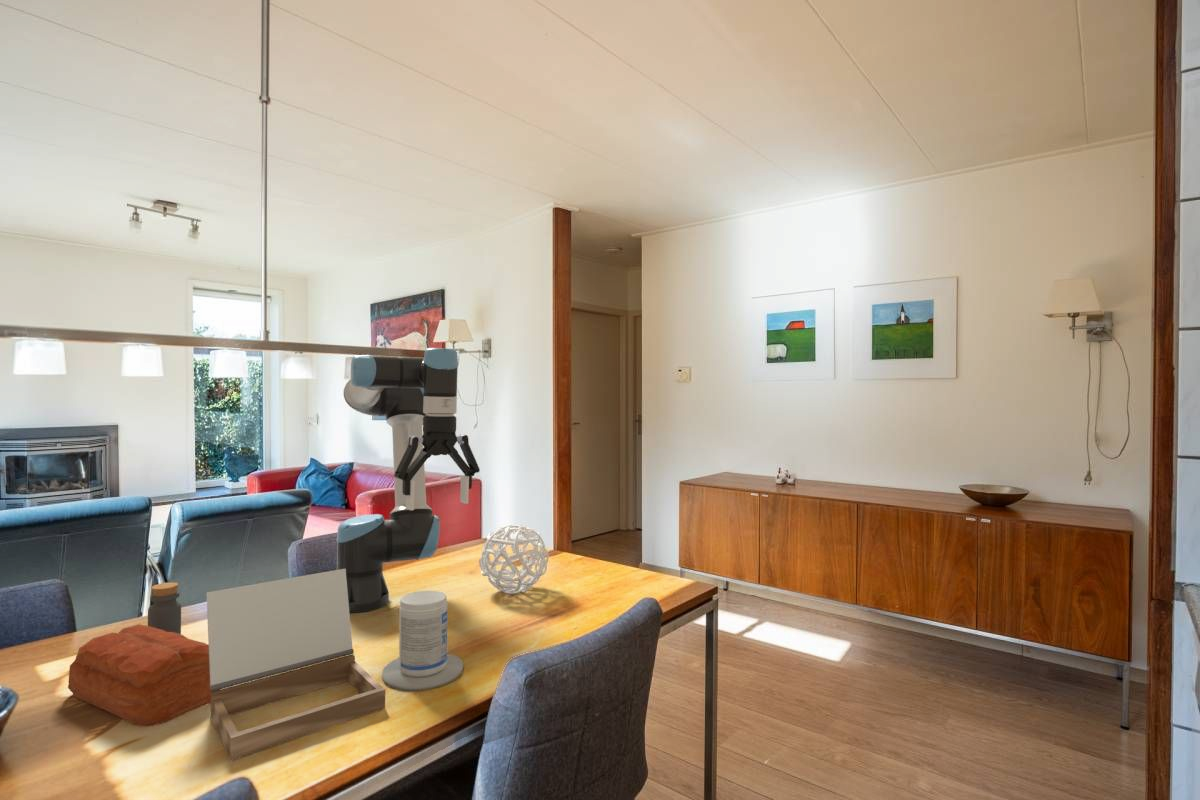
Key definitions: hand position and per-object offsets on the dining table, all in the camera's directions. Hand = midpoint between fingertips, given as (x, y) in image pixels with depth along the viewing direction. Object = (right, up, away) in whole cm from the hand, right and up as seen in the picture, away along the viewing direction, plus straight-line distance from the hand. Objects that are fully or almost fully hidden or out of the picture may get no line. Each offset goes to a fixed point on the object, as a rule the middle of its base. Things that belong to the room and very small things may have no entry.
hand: (437, 506), depth 141 cm
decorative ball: (+12, -32, +36) cm, 49 cm away
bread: (-47, -31, -27) cm, 63 cm away
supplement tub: (+1, -31, -16) cm, 35 cm away
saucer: (+1, -31, -16) cm, 35 cm away
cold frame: (-16, -31, -33) cm, 48 cm away
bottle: (-57, -31, -10) cm, 65 cm away
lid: (-22, -18, -25) cm, 38 cm away
